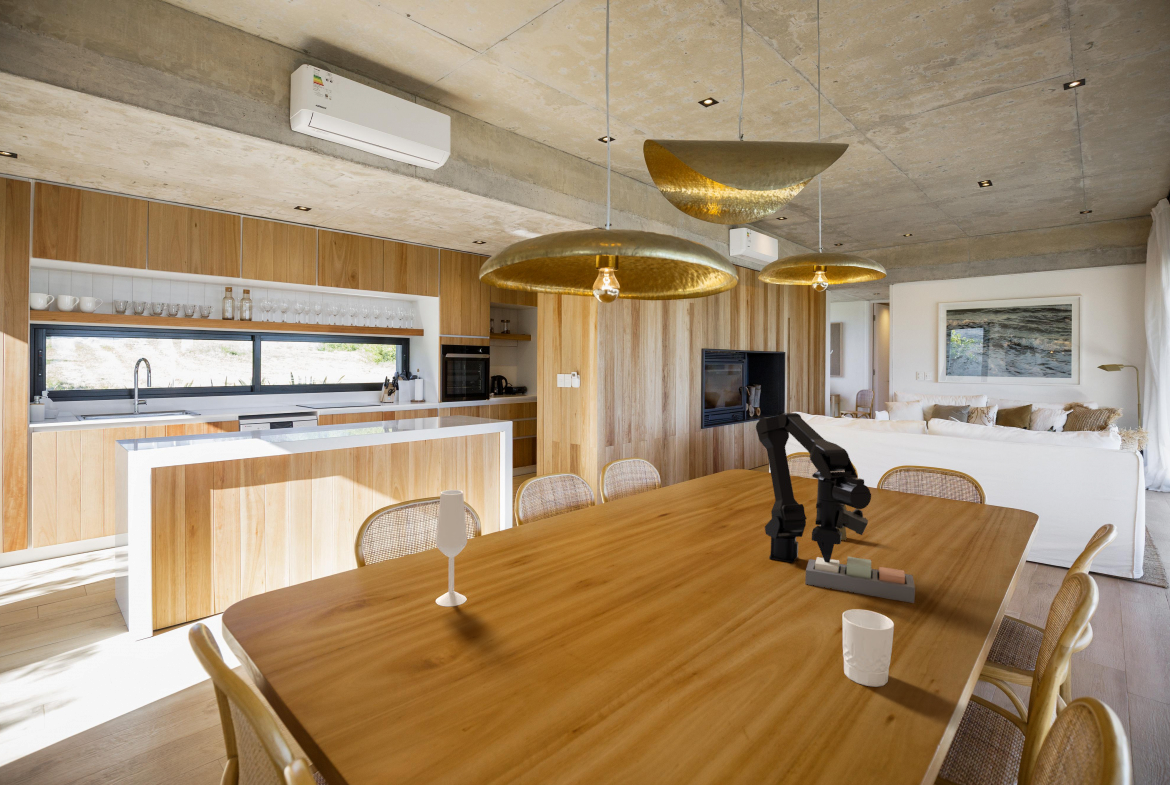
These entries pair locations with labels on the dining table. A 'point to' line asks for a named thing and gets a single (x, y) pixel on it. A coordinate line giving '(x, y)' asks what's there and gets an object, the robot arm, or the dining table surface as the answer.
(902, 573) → the terracotta key
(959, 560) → the dining table surface
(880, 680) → the white cup
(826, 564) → the cream key
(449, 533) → the champagne flute
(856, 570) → the sage key
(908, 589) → the keypad
